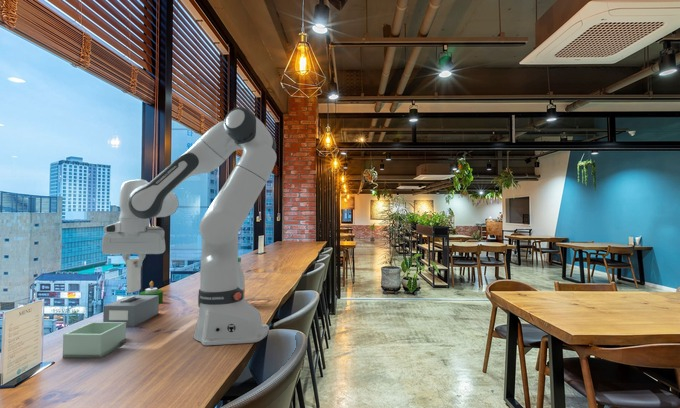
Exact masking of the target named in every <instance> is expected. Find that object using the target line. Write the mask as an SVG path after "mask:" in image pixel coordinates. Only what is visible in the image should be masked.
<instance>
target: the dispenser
mask: <svg viewBox="0 0 680 408" xmlns="http://www.w3.org/2000/svg"><path fill="white" fill-rule="evenodd" d="M159 305H160V304H159V295H140V294H137V295H136V294H130V295H128V296H125V297H124V298H121V299H118V300H114V301H112V302H110V303H107V304H104V305H103V318H102V320H103V321H102V322H126V328H127V327H136V326H138V325H139V324H141V323H143V322H145V321H147V320H149V319H151V318H153V317H155V316H157V315H159V309H160V307H159Z"/></svg>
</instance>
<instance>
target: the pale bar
mask: <svg viewBox="0 0 680 408" xmlns="http://www.w3.org/2000/svg"><path fill="white" fill-rule="evenodd" d="M139 258H140V257H135V258H130V259H129V260H127V267H126V294H131V293H132V294H133V293H135V292H137V291H140V290H141V287H142V286H141V281H142V280H141V279H142V276H141V273H142V272H141V271H142V267H135V262H138V260H139Z"/></svg>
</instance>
